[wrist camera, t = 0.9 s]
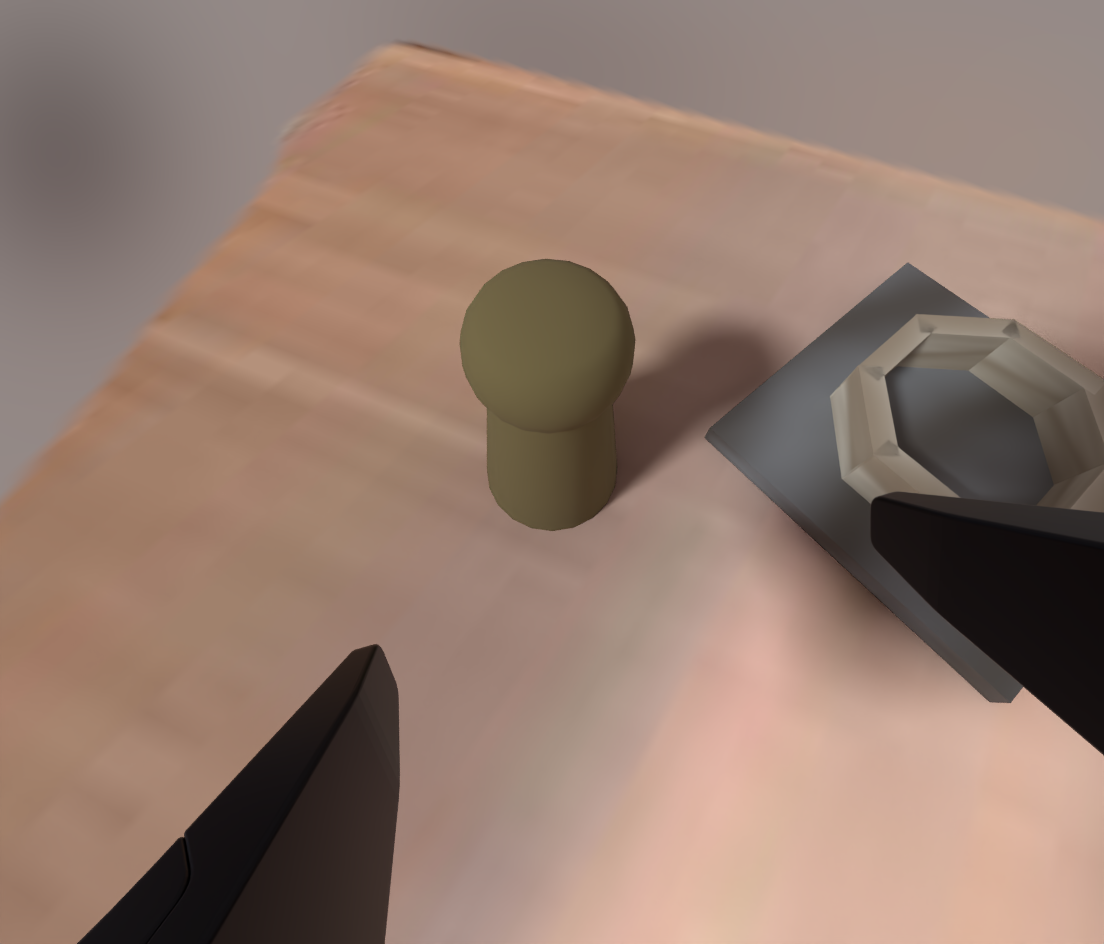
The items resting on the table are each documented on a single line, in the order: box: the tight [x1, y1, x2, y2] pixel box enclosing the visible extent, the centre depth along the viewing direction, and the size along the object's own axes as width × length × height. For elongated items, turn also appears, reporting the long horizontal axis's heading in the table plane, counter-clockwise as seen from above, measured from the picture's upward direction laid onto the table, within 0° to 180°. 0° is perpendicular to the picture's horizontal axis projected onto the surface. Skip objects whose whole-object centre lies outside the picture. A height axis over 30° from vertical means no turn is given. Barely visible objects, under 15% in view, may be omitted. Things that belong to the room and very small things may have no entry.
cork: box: [460, 259, 635, 531], centre depth 19 cm, size 6×6×11 cm
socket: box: [705, 263, 1104, 703], centre depth 23 cm, size 15×15×4 cm
